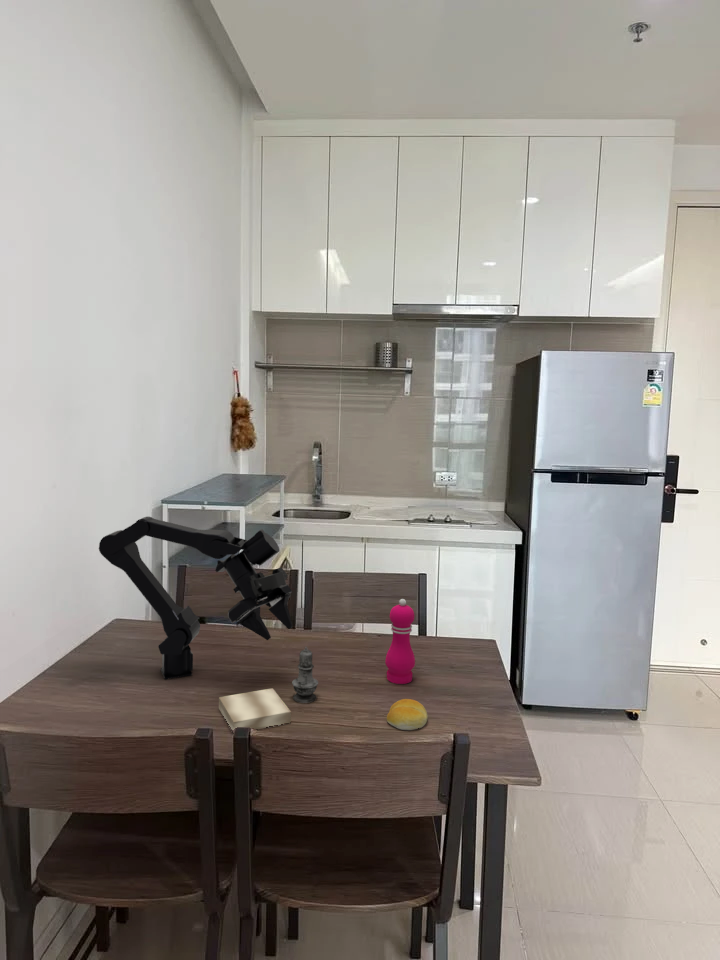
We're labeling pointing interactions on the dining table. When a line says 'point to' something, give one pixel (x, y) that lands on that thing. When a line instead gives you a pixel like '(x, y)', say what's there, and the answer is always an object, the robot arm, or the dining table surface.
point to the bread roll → (407, 715)
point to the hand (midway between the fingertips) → (280, 633)
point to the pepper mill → (400, 645)
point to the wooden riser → (254, 709)
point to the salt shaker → (305, 679)
